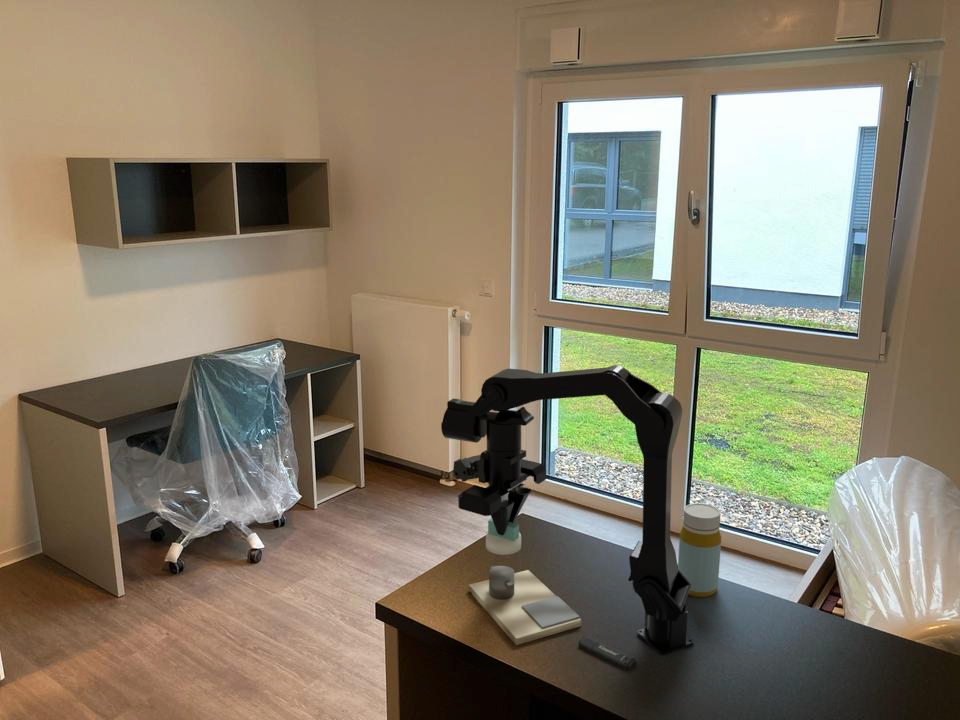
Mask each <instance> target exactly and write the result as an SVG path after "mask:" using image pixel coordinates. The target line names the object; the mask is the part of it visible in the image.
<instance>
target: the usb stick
mask: <svg viewBox="0 0 960 720" xmlns="http://www.w3.org/2000/svg"><path fill="white" fill-rule="evenodd" d="M578 647H579V648H580V649H582V650H584V651H586V652H588V653H590V654H593V655H594V656H597V658H598V657H599V658H600V659H603V660H605V661H607V662H609V663H612V664H613V665H616V666H618V667H619V668H622V669H623V670H626V671H631V670H632V669H634V668H635V667H636V666H637V660H636V659H635V657H633V656H631V655H629V654H627V653H624V652H622V651H621V650H618V649H616V648H614V647H612V646H609V645H607V644H605V643H603V642H601V641H598V640H597V639H594V638H592V637H590V636H588V635H584V636H583V637H581V639H579V640H578Z"/></svg>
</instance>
